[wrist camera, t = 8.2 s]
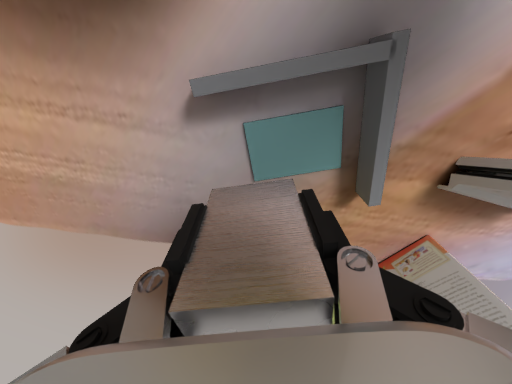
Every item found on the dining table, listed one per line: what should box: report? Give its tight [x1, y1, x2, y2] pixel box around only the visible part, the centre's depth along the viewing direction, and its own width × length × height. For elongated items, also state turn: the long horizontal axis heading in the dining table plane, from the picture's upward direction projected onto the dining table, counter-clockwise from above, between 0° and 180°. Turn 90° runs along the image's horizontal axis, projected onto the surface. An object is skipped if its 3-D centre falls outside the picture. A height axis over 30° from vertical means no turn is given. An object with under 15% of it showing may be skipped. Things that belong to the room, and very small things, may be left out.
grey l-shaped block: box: [168, 179, 334, 337], centre depth 12 cm, size 9×5×8 cm, turn 8°
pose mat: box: [244, 105, 344, 181], centre depth 26 cm, size 8×12×1 cm, turn 100°
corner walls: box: [189, 29, 411, 206], centre depth 24 cm, size 18×20×4 cm
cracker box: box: [378, 235, 512, 329], centre depth 29 cm, size 14×6×21 cm, turn 138°
